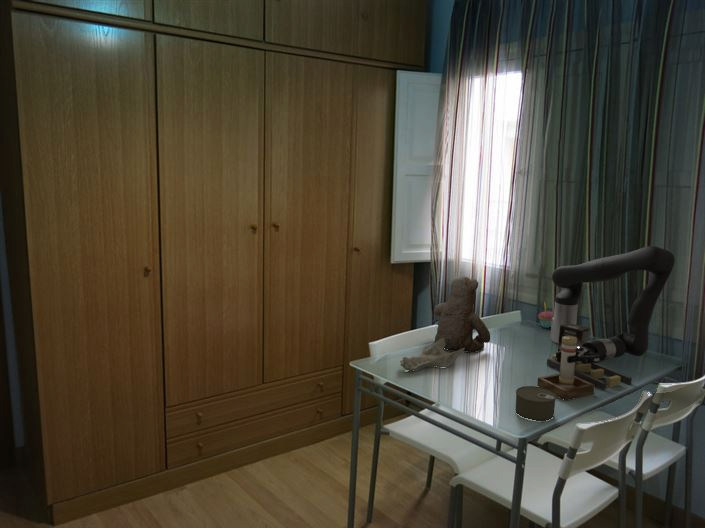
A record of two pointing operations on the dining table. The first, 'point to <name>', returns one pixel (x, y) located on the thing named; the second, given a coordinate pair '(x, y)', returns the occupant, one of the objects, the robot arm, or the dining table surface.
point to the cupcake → (546, 318)
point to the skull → (432, 357)
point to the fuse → (565, 367)
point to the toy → (461, 318)
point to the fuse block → (594, 374)
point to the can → (535, 403)
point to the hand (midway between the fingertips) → (562, 357)
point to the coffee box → (574, 331)
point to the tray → (566, 387)
